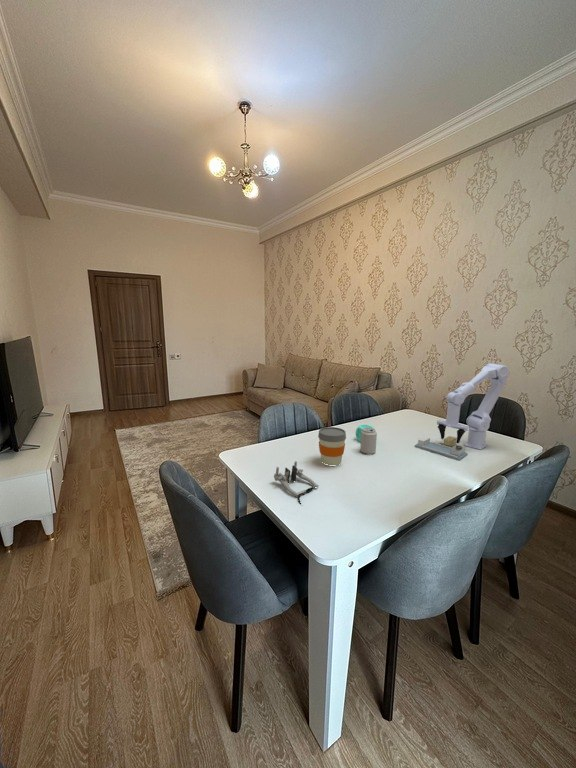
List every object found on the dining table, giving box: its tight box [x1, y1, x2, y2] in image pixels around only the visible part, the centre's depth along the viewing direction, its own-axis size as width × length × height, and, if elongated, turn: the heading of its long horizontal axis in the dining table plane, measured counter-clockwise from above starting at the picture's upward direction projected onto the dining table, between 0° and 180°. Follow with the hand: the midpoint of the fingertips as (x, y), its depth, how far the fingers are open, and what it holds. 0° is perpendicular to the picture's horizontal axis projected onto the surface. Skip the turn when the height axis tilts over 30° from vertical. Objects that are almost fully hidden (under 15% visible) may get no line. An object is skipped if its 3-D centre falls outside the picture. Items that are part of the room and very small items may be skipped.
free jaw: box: [450, 444, 466, 457], centre depth 150 cm, size 7×4×4 cm, turn 131°
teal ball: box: [355, 424, 375, 443], centre depth 170 cm, size 8×8×8 cm
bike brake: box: [273, 460, 320, 502], centre depth 120 cm, size 14×7×20 cm
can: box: [359, 427, 378, 455], centre depth 154 cm, size 8×8×12 cm
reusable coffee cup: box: [317, 426, 347, 466], centre depth 142 cm, size 12×13×15 cm
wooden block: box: [443, 435, 457, 448], centre depth 161 cm, size 6×4×5 cm, turn 131°
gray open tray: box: [414, 436, 469, 461], centre depth 156 cm, size 10×22×4 cm, turn 41°
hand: (450, 440), depth 161 cm, fingers open, 7 cm apart
